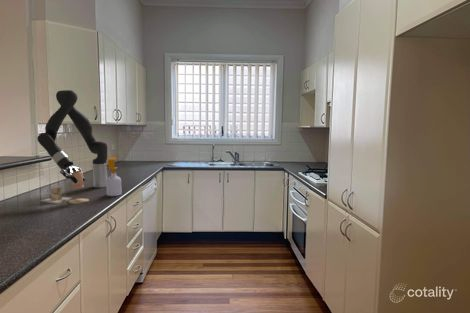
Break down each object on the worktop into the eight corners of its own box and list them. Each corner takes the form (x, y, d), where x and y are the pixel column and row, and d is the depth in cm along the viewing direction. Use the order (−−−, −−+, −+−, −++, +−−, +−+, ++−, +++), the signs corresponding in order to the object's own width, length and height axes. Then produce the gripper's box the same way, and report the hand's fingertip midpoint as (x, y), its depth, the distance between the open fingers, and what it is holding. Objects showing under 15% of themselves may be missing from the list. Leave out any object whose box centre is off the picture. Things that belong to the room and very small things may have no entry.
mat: (77, 198, 187) (77, 197, 187) (93, 199, 185) (93, 199, 185) (63, 203, 177) (63, 202, 177) (79, 204, 174) (79, 203, 174)
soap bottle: (124, 193, 203) (122, 156, 200) (117, 196, 194) (116, 158, 191) (111, 193, 204) (109, 156, 201) (104, 196, 195) (102, 158, 192)
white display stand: (56, 197, 189) (55, 185, 189) (72, 199, 187) (72, 186, 186) (39, 202, 178) (39, 189, 177) (56, 203, 175) (56, 190, 174)
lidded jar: (77, 185, 184) (76, 169, 183) (86, 186, 182) (86, 170, 181) (69, 188, 177) (68, 171, 176) (78, 188, 176) (78, 171, 175)
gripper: (56, 157, 173) (75, 179, 171) (75, 155, 187) (92, 175, 185) (49, 166, 175) (67, 188, 173) (68, 163, 189) (85, 183, 187)
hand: (80, 181), depth 179 cm, fingers closed on lidded jar, 5 cm apart
